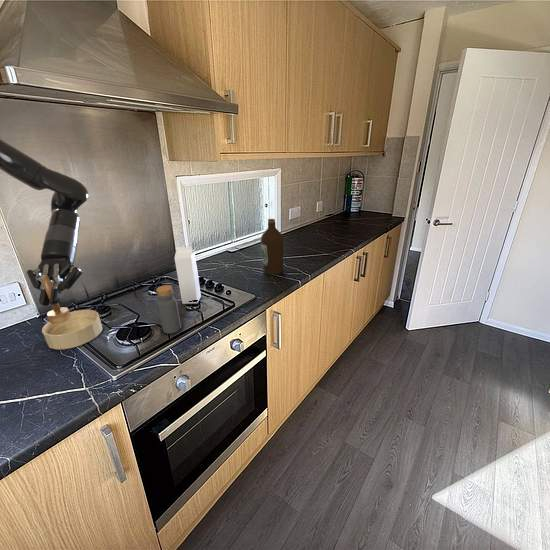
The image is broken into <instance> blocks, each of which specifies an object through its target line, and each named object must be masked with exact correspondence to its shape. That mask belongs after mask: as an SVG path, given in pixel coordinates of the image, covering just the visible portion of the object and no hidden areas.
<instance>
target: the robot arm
mask: <svg viewBox="0 0 550 550" xmlns="http://www.w3.org/2000/svg"><path fill="white" fill-rule="evenodd" d="M0 171H2V172H4V173H6V174H7V175H8V176H10V177H12V178H14V179H15V180H17V181H19V182H21V183H23V184H24V185H26V186H28V187H29V188H31V189H33V190H36V191H43V190H50V191H52V192H53V194H52V197H51V199H50V200H51V202H50V212H51V215H50V218H49V223H48V228H47V230H46V233H45V236H44V240H43V245H42V249H41V254H40V259H41V261H40V263H38V266H37V268H35V269H33V270H32V269H28V270H27V271H26V274H27V276H28V278H29V281H30V283H31V284H32V286H33V288H34V289H36V290H38V291H40V292H39V293H40V294H39V298H38V302H39V303H40V305H42V306H44V307H48V306H50V305H51V304H52V305H57V304H58V303H59V304H60V302H61V297H62V293H63V292H64V290H70V289H71V288H72V287H73V286H74V284H75V283H76V282H77V281H78V280H79V279H80V277H81V276H82V274H83V273H84V272H83V270H82V269H80V268H79V267H77V266H75V263H74V262H75V260H76V255H77V251H78V250H77V249H78V243H79V232H80V227H81V216H80V215H79V214H78V210H79V208H80V207H81V206H82V205H84V203H86V202H87V201H88V199H89V197H90V194H89V190H88V189H87V187H86V186H85V185H84V184H83V183H82V182H80V181H79V180H77V179H75V178H73V177H71V176H68V175H67V174H63V173H61V172H58V171H55V170H52V169H50V168H49V167H47V166H45V165H44V164H42V163H40V162H39V161H37V160H36V159H34V158H33V157H30V155H28V154H26V153H24V152H23V151H22V150H19V149H18V148H16V147H14V146H12V145H11V144H9V143H8V142H7V141H4V140H2V139H1V138H0ZM43 275H47V276H48V277H49V279H50V281H51V284H52V287H53V289H54V290H52V291H51V296H50V300H49V298H48V295H47V293H46V290H45V287H44V285H43V282H42V279H41V277H42V276H43Z"/></svg>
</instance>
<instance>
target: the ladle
mask: <svg viewBox="0 0 550 550" xmlns="http://www.w3.org/2000/svg"><path fill="white" fill-rule="evenodd" d="M40 279H42V282H43V285H44V287H45V290H46V293H47V295H48V298H49V300H50V296H51V291H52V290H54V288H53V286H52V284H51V281H50V279H49V277H48V276H47V275H43V276H42V275H41V277H40ZM50 305H51V310H49V311H48V312H47V313H46V317H47V319H48V322H49V321H50V323H51V324H58V323H62V322H65V321H67V320H68V319H70V317H71V315H70V312H71V311H70V310H69V308H68V307H66V306H63V307H62V306H60V302H59V303H58V304H57V305H52V304H50Z"/></svg>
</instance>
